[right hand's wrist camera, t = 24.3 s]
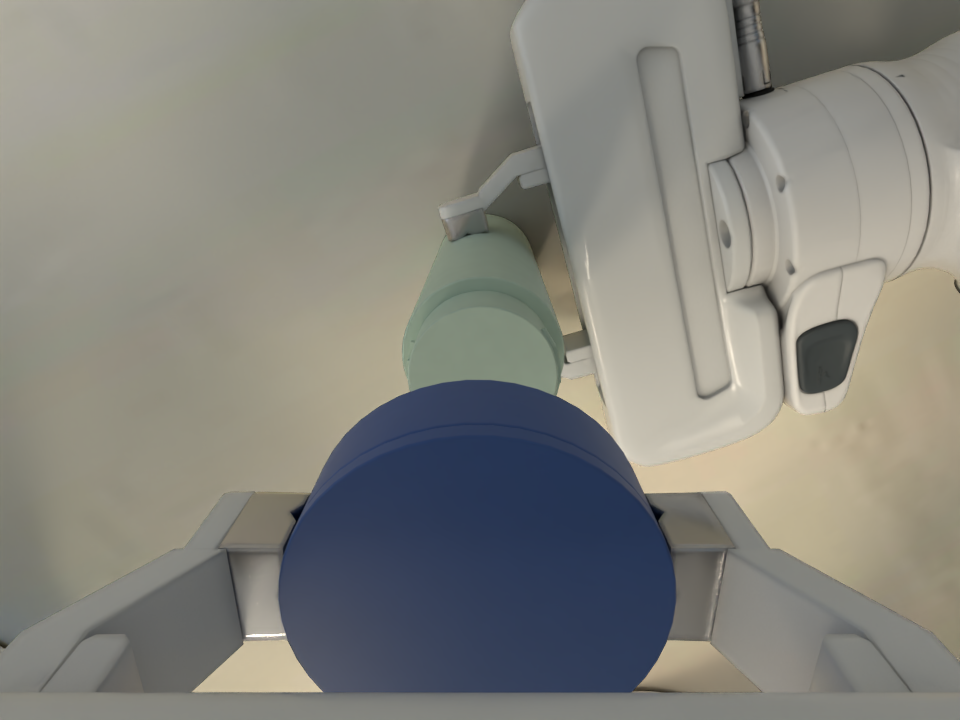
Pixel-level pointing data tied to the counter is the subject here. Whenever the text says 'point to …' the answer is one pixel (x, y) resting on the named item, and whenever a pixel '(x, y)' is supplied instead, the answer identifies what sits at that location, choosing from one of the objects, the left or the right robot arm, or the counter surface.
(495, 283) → the jar
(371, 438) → the lid
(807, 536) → the counter surface
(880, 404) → the counter surface
